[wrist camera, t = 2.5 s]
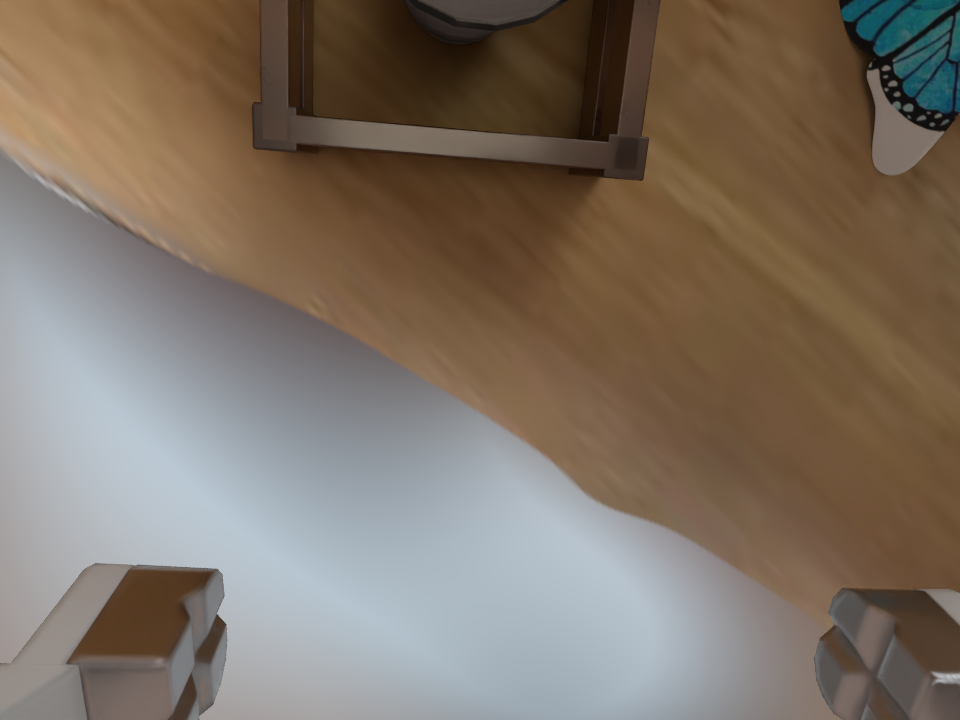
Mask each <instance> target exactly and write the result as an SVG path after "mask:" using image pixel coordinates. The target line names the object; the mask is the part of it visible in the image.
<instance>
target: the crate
mask: <svg viewBox="0 0 960 720" xmlns="http://www.w3.org/2000/svg"><path fill="white" fill-rule="evenodd" d="M259 4H260V84H261V103H259V102H254V103H253V104H252V126H253V148H254V149H257V150H270V151H282V152H294V153H307V154H318V153H319V148H331V149H343V150H356V151H368V152H380V153H392V154H404V155H416V156H428V157H440V158H453V159H465V160H477V161H489V162H501V163H513V164H525V165H537V166H549V167H562V168H569V171H568V174H569V175H577V176H590V177H602V178H614V179H627V180H639V181H642V180H643V178H644V171H645V164H646V157H647V150H648V142H649V138H648V137H641V136H642V129H643V122H644V115H645V107H646V100H647V93H648V86H649V78H650V71H651V64H652V57H653V49H654V42H655V35H656V28H657V20H658V13H659V6H660V0H594V6H593V15H592V24H591V33H590V42H589V51H588V59H587V68H586V77H585V86H584V95H583V104H582V112H581V121H580V130H579V138H576V139H568V138H556V137H545V136H533V135H522V134H511V133H499V132H488V131H477V130H465V129H454V128H442V127H431V126H420V125H408V124H397V123H386V122H374V121H363V120H351V119H340V118H329V117H317V116H315V115H313V0H259Z"/></svg>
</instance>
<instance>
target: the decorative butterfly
mask: <svg viewBox="0 0 960 720" xmlns="http://www.w3.org/2000/svg"><path fill="white" fill-rule="evenodd" d="M839 1H840V8H841V13H842V17H843V20H844V24H845V27H846V30H847V32H848V34H849V36H850V38H851V40H852V41H853V42H854V43H855V44H856V45H857V46H858V47H859V48H860V49H861V50H863V51H864V52H866V53H868V54H870V55H872V56H874V57H875V58H874V60H873V61H872V62H871V63H870V65H869V67H868V70H867V80H868V83H869V86H870V89H871V92H872V95H873V99H874V102H875V127H874V135H873V143H872V159H873V164H874V166H875V167H876V169H877V170H878V171H880V172H881V173H883V174H886V175H898V174H901V173H903V172H905V171H907V170H909V169H910V168H911V167H913V166H914V165H916V164H917V163H918V162H919V161H920V159H921V158H922V157H923V156H924V155H925V154H926V153H927V152H928V151H929V150H930V148H931V147H932V146H933V145H934V144H935V143H936V142H937V140H938V139H939V138H940V137H941V136H942V135H943V133H944V132H945V131H946V130H947V129H948V127H949V126H950V125H951V124H952V122H953V121H954V120H955V118H956V117H957V115H958V114H959V113H960V0H839Z"/></svg>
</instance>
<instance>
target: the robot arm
mask: <svg viewBox="0 0 960 720" xmlns="http://www.w3.org/2000/svg"><path fill="white" fill-rule="evenodd" d="M223 598H224V586H223V576H222V573H221V572H220V571H219V570H218V569H208V568H190V567H170V566H151V565H136V566H134V565H123V564H99V563H95V564H93V565H91V566H89V567H87V568H86V569H84V570H83V571H82V573H81V574H80V575H79V577H78V578H77V579H76V580H75V582H74V583H73V584H72V585H71V587H70V588H69V589H68V591H67V592H66V593H65V595H64V596H63V597H62V598H61V600H60V601H59V602H58V604H57V605H56V606H55V607H54V609H53V610H52V611H51V613H50V614H49V615H48V617H47V618H46V619H45V620H44V622H43V623H42V624H41V625H40V627H39V628H38V630H37V631H36V632H35V633H34V634H33V636H32V637H31V639H30V640H29V641H28V642H27V643H26V645H25V646H24V647H23V649H22V650H21V651H20V652H19V654H18V655H17V656H16V658H15V659H14V660H13V661H12V663H0V720H199V716H200V715H201V714H202V713H204V712H205V711H206V710H207V709H208V708H210V707H211V706H212V705H213V704H214V701H215V698H216V696H217V693H218V690H219V687H220V684H221V680H222V675H223V671H224V666H225V661H226V650H227V627H226V624H225V622H224V621H223V620H222V619H221V618H220V617H219V616H218V615H217V612H218V610H219V607H220V605H221V603H222V600H223ZM829 614H830V616H831V618H832V620H833V622H834V625H835V626H833V627H832V628H831V629H830V630H829V631H828V632H826V633H825V634H824V635H823V636H822V637H821V638H820V639H819V643H818V646H817V650H816V654H815V657H814V661H815V671H816V680H817V682H818V686H819V688H820V691H821V693H822V696H823V698H824V699H825V701H826V703H827V704H828V706H829V707H830V709H831V711H832V712H833V714H835V715H836V716H838V717H839V718H840V719H842V720H960V593H958V592H956V591H954V590H952V589H913V590H902V589H860V588H842V589H841V590H840V591H839V592H838V593H837V594H836V595H835V596H834V597H833V600H832V603H831V606H830V609H829Z"/></svg>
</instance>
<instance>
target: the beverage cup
mask: <svg viewBox="0 0 960 720" xmlns="http://www.w3.org/2000/svg"><path fill="white" fill-rule="evenodd" d="M566 1H568V0H404V2H405V4H406V6H407V8H408V9H409V11H410V13H411V15H412V16H413V18H414V20H415V21H416V22H417V24H418V25H419V26H420V27H421V28H423V29H424V30H425V31H426V32H427V33H428V34H429V35H430V36H432V37H434V38H436V39H438V40H440V41H442V42H444V43H449V44H458V45H463V44H468V43H472V42H476V41H479V40H483V39H484V38H486V37H487V36H489V35H491V34H492V33H494V32H495V31H498V30H503V29H507V28H511V27H515V26H520V25H524V24H528V23H532V22H535V21H537V20H538V19H540V18H541V17H543V16H544V15H546V14H548V13H549V12H551V11H552V10H554V9H555V8H557V7H558V6H560V5H562V4H563V3H565V2H566Z"/></svg>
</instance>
